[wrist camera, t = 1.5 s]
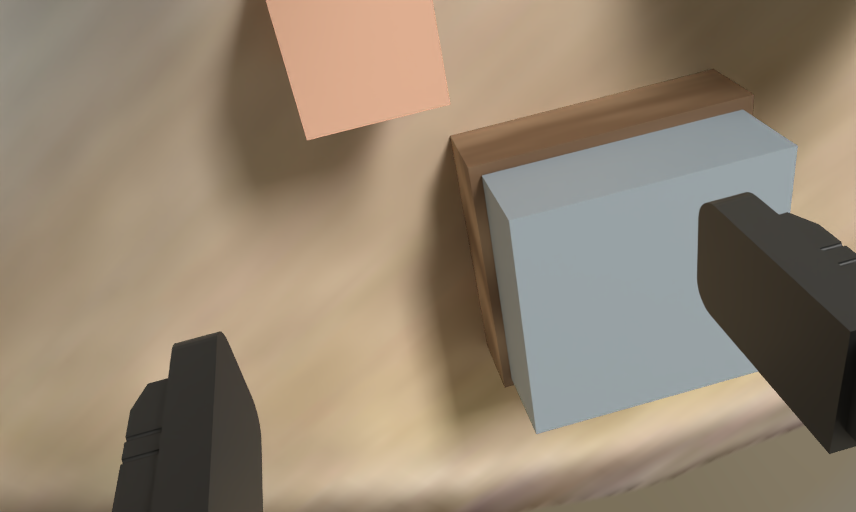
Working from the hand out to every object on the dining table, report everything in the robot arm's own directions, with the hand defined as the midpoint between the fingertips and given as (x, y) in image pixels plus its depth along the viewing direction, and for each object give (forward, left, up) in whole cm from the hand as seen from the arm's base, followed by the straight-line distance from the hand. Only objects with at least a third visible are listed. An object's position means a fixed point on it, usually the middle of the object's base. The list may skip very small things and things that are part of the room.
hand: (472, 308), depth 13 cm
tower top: (+14, +10, -19) cm, 25 cm away
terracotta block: (0, 0, -22) cm, 22 cm away
